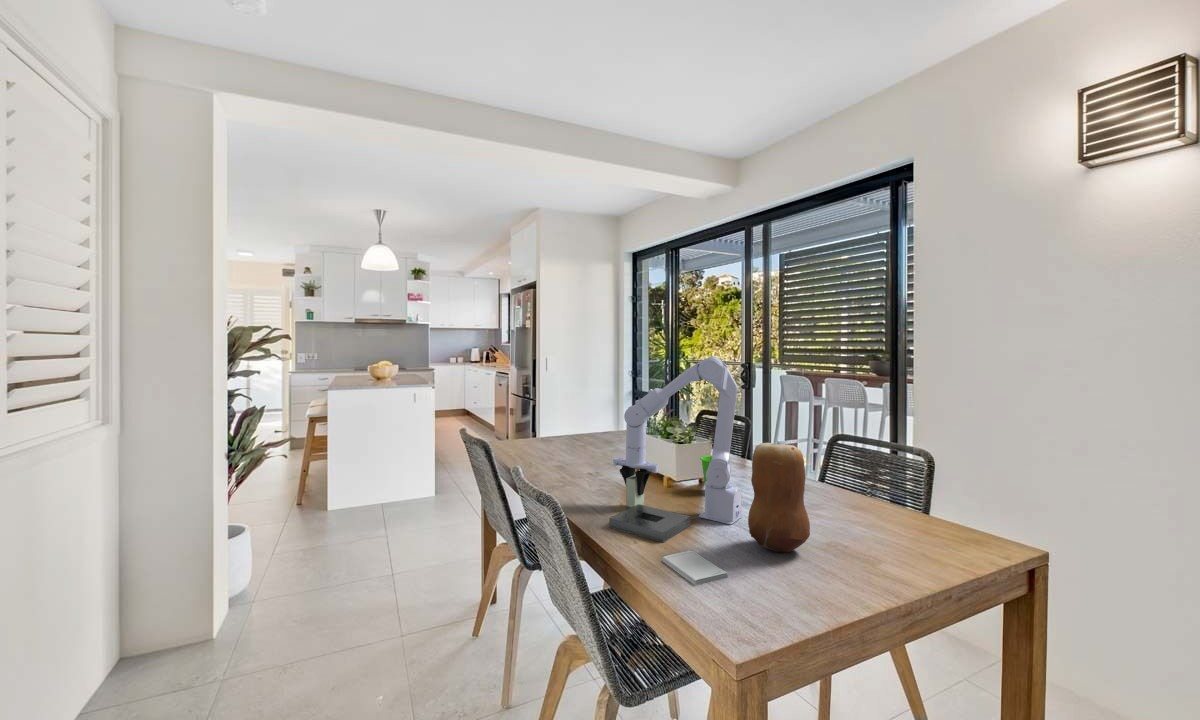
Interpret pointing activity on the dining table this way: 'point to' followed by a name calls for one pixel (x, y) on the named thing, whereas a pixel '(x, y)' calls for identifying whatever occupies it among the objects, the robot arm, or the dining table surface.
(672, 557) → the hard drive
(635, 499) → the keyed block
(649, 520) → the key plate
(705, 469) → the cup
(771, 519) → the butternut squash
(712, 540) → the dining table surface
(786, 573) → the dining table surface
